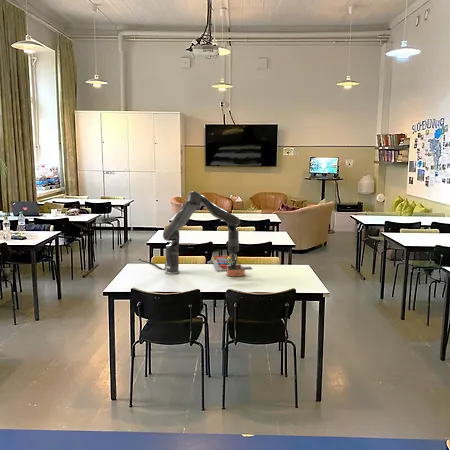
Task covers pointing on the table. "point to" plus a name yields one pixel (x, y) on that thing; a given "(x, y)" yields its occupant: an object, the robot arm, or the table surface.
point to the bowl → (236, 273)
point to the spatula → (238, 267)
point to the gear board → (221, 262)
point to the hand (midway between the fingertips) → (233, 269)
